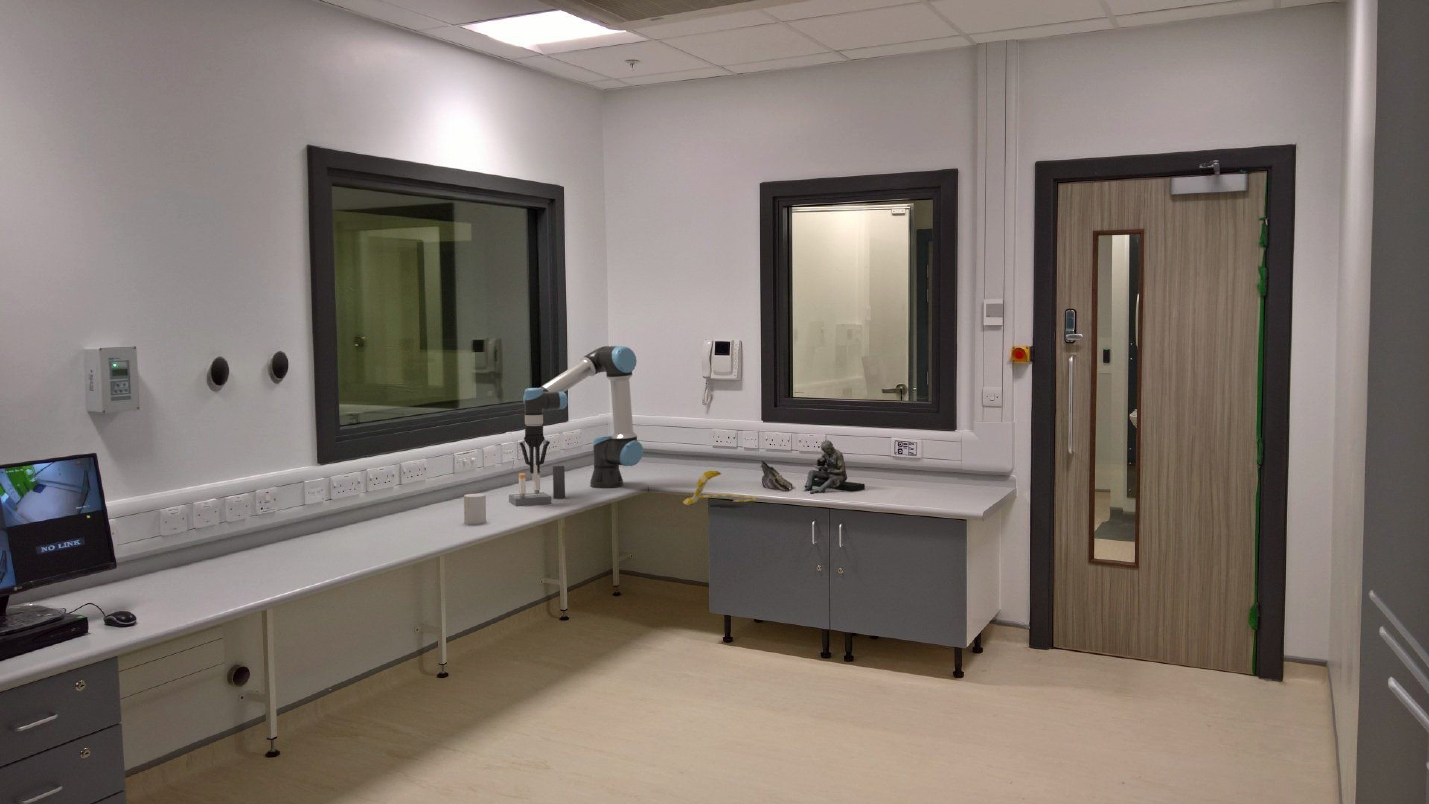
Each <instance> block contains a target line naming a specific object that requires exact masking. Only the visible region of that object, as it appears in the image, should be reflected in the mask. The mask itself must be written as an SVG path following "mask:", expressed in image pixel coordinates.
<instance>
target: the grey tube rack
mask: <svg viewBox="0 0 1429 804" xmlns="http://www.w3.org/2000/svg"><path fill="white" fill-rule="evenodd" d="M508 502H509V503H511V505H513V506H515V507H520V506H521V507H522V506H534V505H535V506H536V505H538V506H539V505H547V504H550V505H551V504H552V496H551V495H549V494H547V493H546V492H544V491H543V492H539V493H535V492H530V493H527V492H526V494H525V497H521V496H520V493H515V494H514V493H513V494H508Z"/></svg>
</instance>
